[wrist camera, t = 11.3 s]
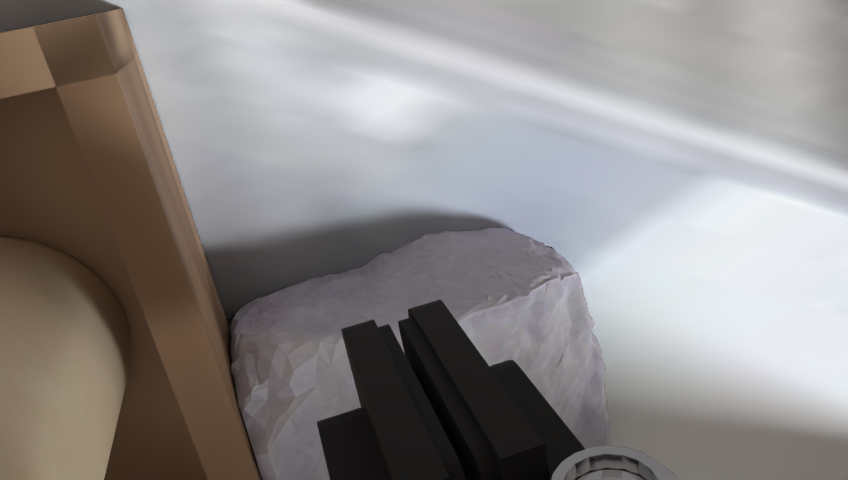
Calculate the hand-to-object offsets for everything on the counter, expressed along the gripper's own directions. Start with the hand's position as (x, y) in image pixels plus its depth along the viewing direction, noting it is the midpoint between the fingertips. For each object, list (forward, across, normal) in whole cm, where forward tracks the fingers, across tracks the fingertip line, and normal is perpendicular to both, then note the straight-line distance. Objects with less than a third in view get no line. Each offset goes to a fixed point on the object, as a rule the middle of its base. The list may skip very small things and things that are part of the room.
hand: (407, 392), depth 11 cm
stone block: (+8, -2, +7) cm, 11 cm away
